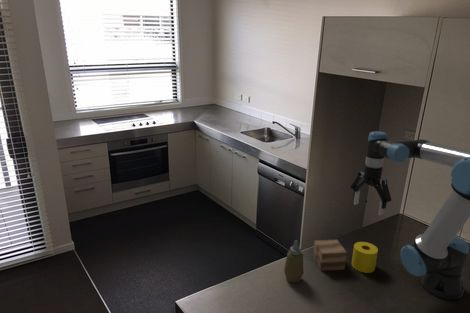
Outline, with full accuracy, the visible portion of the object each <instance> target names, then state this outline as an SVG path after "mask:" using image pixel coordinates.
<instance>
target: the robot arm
mask: <svg viewBox="0 0 470 313" xmlns="http://www.w3.org/2000/svg"><path fill="white" fill-rule="evenodd" d="M365 155H366V156H365V165H364V170H363V171H360V172H357V176H356V178H355V179H354V181H353V182H352V184H351V185H350V189H352V191H353V194H352V196H353V198H354V199H353V205H354V206H356V205H359V202H360V195H361V194H360V193H361V191H360V190H361V189H362V188H363V187H364V186H365V185H367V186H371V187H374V189H375V190H376V192H377V194H378V196H379V198H380V201H379V207H378V213H377V214H378V216H382V215H384V211H385V209H386V208H387V205H388V204H387V203H390V202H392V197H391V194H390V190H389V187H388V186H389V185H388V180H387V179H382V175H383V170H384V169H383V166H384V161H385V160H384V159H385V158H386V159H388V160H390V161H392V162H395V163H396V162H397V163H403V162H405V161H406V160H407V159H420V160H423V161H427V162H432V163H436V164H438V165H442V166H447V167H451V168H452V169H451V171H450V177H451V178H450V180H451V183H450V187H451V193H450V194H448V197H447V198H446V200H445V202H444V203H443V204H442V206H441V207H440V208H439V211H438V212H437V213H436V215H435V216H434V218H433V220H432V221H431V222H430V224H429V225H428V226H427V229H426V230H425V231H424V233H419V234H417V236H416V237H415V238H414V240H413V241H412V243H411V244H405V246H404V245H403V247H401V249H400V259H401V263H402V265H403V267H404V269H405V270H406V271H407V272H408V273H409V274H411V275H412V276H415V277H420V276H421V285H422V287H423V288H424V290H426V291H427V292H428V293H430V294H431V295H434V296H436V297H438V298H440V299H445V300H449V301H450V300H451V301H456V300H460V299H461V298H463V295H464V292H465V286H464V280H463V274H464V270H465V266H466V262H467V259H468V255H469V251H470V250H469V249H470V245H469V244H468V243H469V242H467V241H466V240H465V239H463V238H461V237H459V236H457V235H458V233H459V232H460V231H461V230H462V228H463V227H464V226H465V225H466V223H467V222H468V220H469V219H470V149H465V148H460V147H454V146H451V145H450V146H449V145H445V144H438V143H434V142H431V141H430V140H429V139H413V140H401V141H400V140H398V141H396V140H395V141H394V140H390V139H388V134H387V133H386V132H384V131H378V130H375V131H370V132H369V134H368V139H367V148H366V154H365ZM362 179H364V180H362ZM360 181H361V182H360Z"/></svg>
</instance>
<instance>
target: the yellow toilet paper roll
mask: <svg viewBox="0 0 470 313" xmlns="http://www.w3.org/2000/svg"><path fill="white" fill-rule="evenodd" d="M378 252H379V249H378V247H377V246H376V245H374V244H372V243H370V242H367V241H357V242H355V243H354V244H353V249H352V258H351V266H353V267H352V268H353V269H354V268H355V269H354V270H356V271H357V270H358V271H357V272H360V273H363V272H364V273H365V274H370V273H373V272H375V269H376V265H377V258H378V254H379V253H378ZM364 273H363V274H364Z"/></svg>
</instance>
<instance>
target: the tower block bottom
mask: <svg viewBox="0 0 470 313" xmlns="http://www.w3.org/2000/svg"><path fill="white" fill-rule="evenodd" d="M312 249H313V248H312ZM312 258H313V260H314V262H315V263H316V265H317V267H318V269H319V270H320V272H322V271H323V272H324V271H343V270H344V271H345V269H346V263H347V260H346V261H345V262H326V263H322V262H321V261H320V259H319V258H318V256H317V254H316V253H315V251H314V249H313V252H312Z"/></svg>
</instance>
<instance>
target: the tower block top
mask: <svg viewBox="0 0 470 313" xmlns="http://www.w3.org/2000/svg"><path fill="white" fill-rule="evenodd" d="M312 249H314V251H315V253H316V254H317V256H318V258H319V259H320V261H321V262H322V263H326V262H345V261H346V262H347V255H348V252H347V250H346V249H345V248H344V246H343V245H342V244H341V243H340V241H339V240H338V239H336V238H335V239H318V240H317V239H316V240H315V239H314V240H313V248H312Z"/></svg>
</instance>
